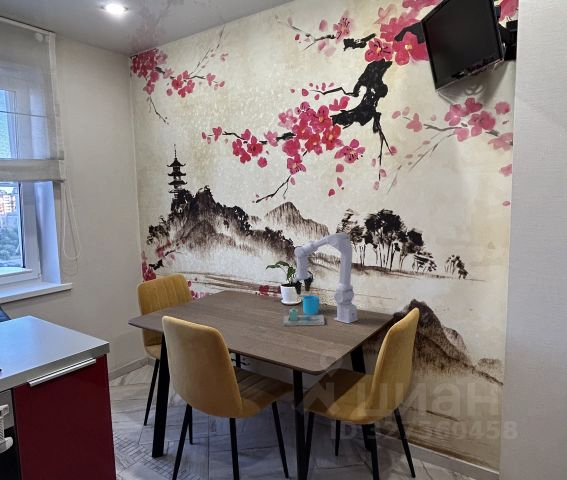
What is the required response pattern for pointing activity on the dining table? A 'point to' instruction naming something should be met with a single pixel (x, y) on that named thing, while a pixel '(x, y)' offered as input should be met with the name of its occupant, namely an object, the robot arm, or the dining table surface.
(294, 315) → the plug
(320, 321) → the panel
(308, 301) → the mug
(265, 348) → the dining table surface
